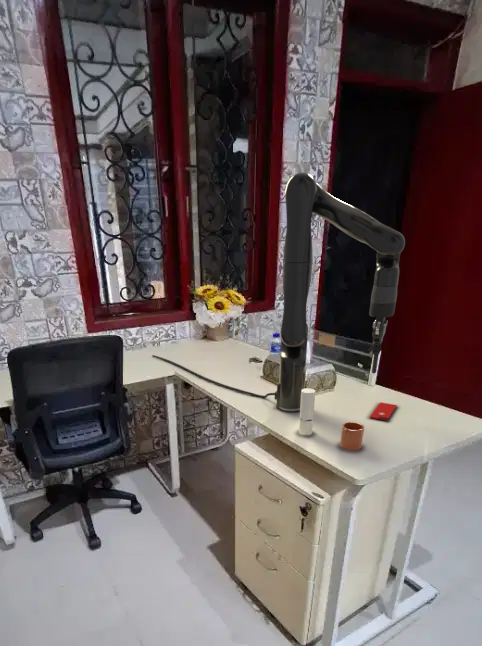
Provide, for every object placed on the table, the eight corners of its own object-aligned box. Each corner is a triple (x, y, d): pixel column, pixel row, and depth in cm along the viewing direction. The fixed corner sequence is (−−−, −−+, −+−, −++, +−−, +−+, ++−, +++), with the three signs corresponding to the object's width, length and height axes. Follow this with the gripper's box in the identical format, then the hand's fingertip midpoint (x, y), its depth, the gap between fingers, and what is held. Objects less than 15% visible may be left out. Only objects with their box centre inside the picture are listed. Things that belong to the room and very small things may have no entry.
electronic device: (380, 403, 155) (369, 417, 145) (380, 402, 155) (369, 416, 144) (396, 406, 152) (387, 421, 141) (396, 404, 152) (387, 419, 141)
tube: (301, 429, 139) (304, 387, 133) (314, 432, 137) (317, 389, 130) (296, 434, 136) (299, 391, 129) (309, 437, 134) (312, 393, 127)
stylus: (371, 373, 143) (375, 339, 138) (371, 372, 144) (376, 338, 139) (375, 374, 142) (380, 339, 137) (376, 373, 143) (380, 338, 138)
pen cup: (338, 449, 126) (340, 428, 123) (342, 440, 131) (344, 420, 128) (359, 453, 123) (362, 432, 120) (362, 444, 128) (365, 423, 125)
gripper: (373, 297, 139) (367, 348, 147) (367, 303, 129) (361, 358, 136) (398, 297, 136) (390, 349, 144) (393, 304, 125) (385, 360, 133)
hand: (376, 353), depth 140 cm, fingers closed on stylus, 1 cm apart
